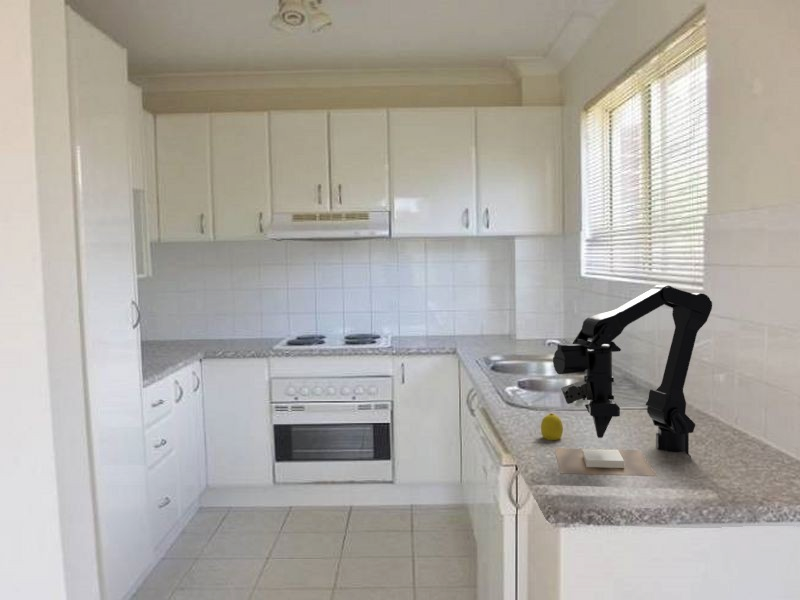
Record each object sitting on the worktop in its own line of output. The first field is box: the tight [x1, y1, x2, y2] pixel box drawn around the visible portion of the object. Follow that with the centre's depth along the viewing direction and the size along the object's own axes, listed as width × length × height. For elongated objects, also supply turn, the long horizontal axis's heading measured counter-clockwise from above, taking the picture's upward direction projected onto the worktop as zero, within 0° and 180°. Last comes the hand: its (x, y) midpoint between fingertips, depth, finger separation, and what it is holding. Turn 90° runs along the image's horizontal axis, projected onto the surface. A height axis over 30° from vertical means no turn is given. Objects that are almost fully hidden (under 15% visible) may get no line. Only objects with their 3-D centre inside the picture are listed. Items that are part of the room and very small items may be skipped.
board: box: [554, 447, 658, 477], centre depth 145 cm, size 20×18×2 cm
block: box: [581, 448, 624, 468], centre depth 144 cm, size 8×2×8 cm
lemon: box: [540, 412, 564, 441], centre depth 164 cm, size 6×6×8 cm
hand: (599, 437), depth 148 cm, fingers closed
